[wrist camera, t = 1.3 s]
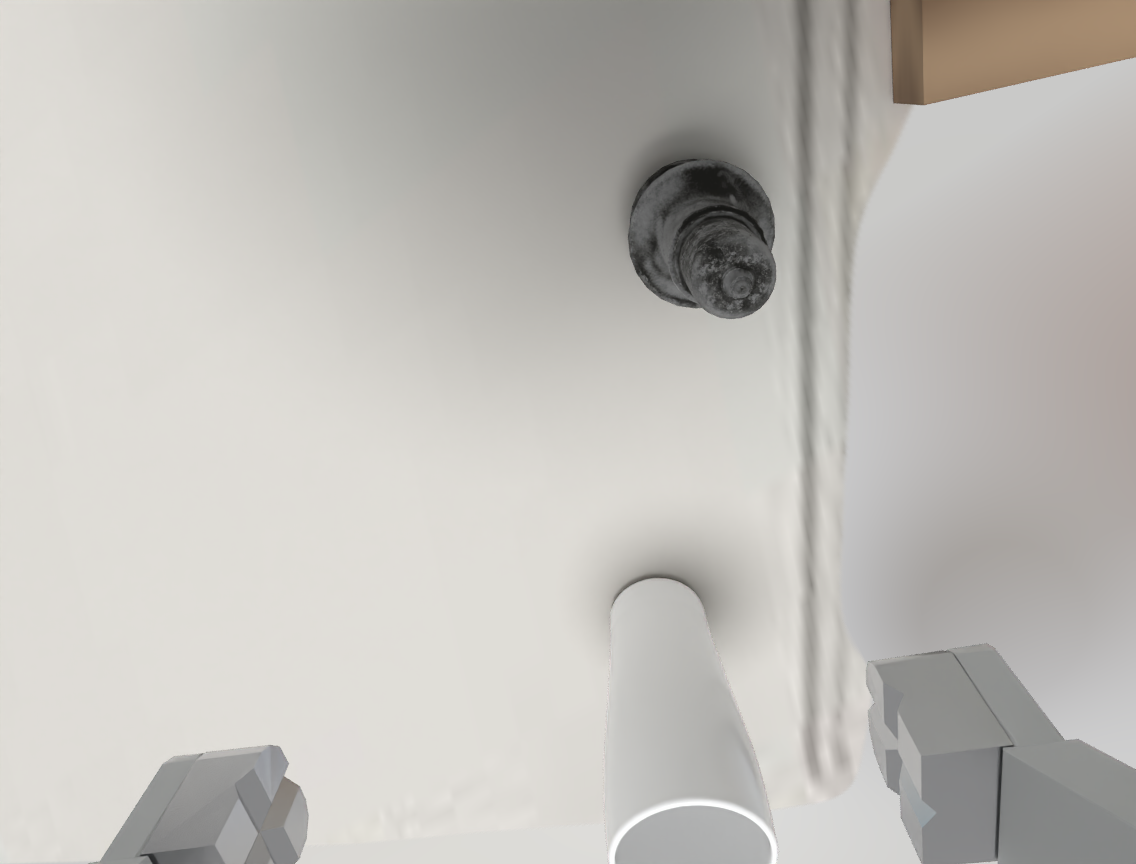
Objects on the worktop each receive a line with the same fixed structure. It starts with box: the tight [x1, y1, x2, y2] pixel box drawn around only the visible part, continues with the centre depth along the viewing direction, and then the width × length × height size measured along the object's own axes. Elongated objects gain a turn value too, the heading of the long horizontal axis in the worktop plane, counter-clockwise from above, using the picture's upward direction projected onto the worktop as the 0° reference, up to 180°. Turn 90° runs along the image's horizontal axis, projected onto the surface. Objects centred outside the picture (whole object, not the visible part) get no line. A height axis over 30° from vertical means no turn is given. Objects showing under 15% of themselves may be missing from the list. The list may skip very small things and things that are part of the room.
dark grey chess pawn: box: [628, 159, 776, 319], centre depth 28 cm, size 6×6×12 cm
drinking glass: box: [603, 578, 778, 864], centre depth 36 cm, size 7×7×15 cm
